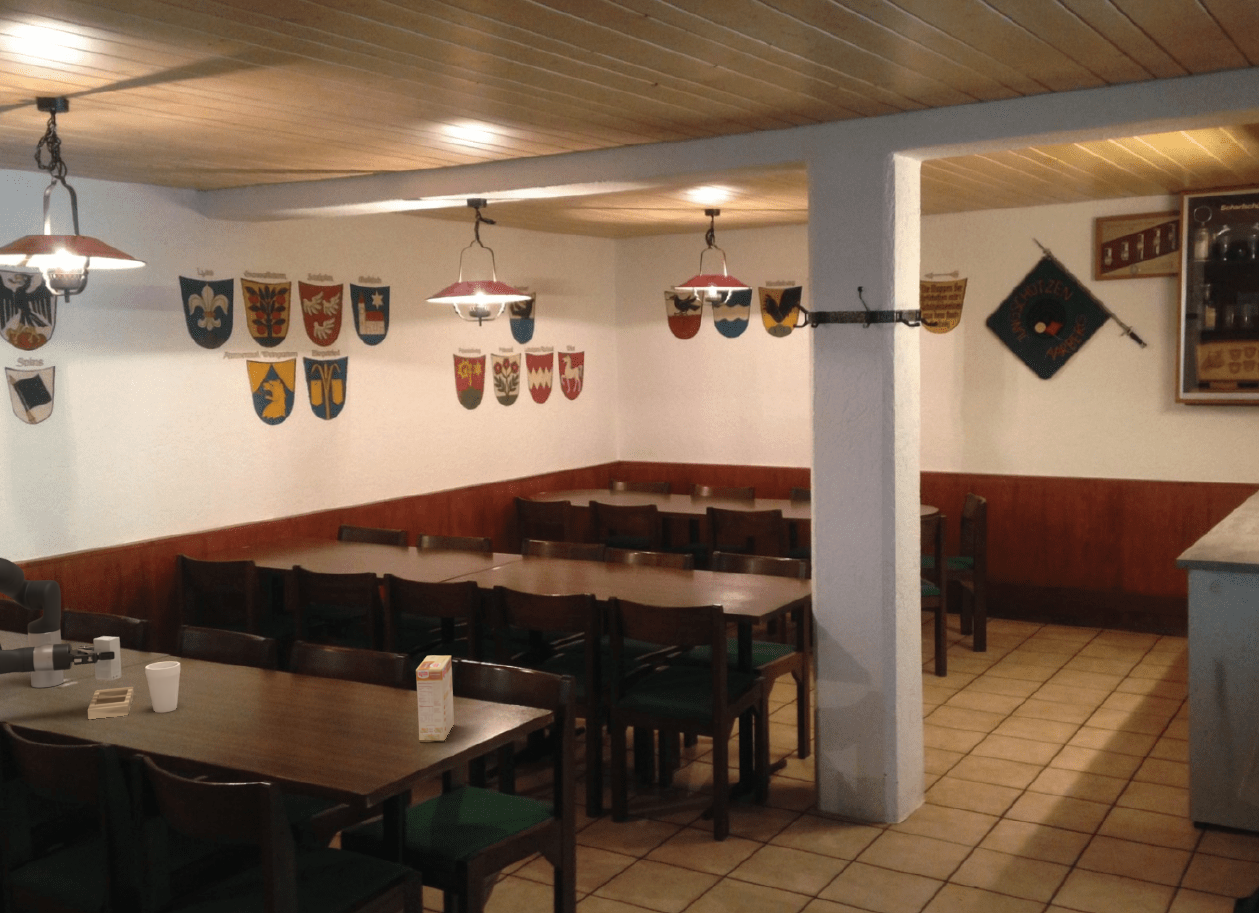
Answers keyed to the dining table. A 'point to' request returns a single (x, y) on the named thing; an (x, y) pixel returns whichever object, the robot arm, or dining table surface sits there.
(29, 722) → the dining table surface
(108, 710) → the wooden crate
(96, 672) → the skincare box
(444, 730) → the coffeecake box
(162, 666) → the foam cup
